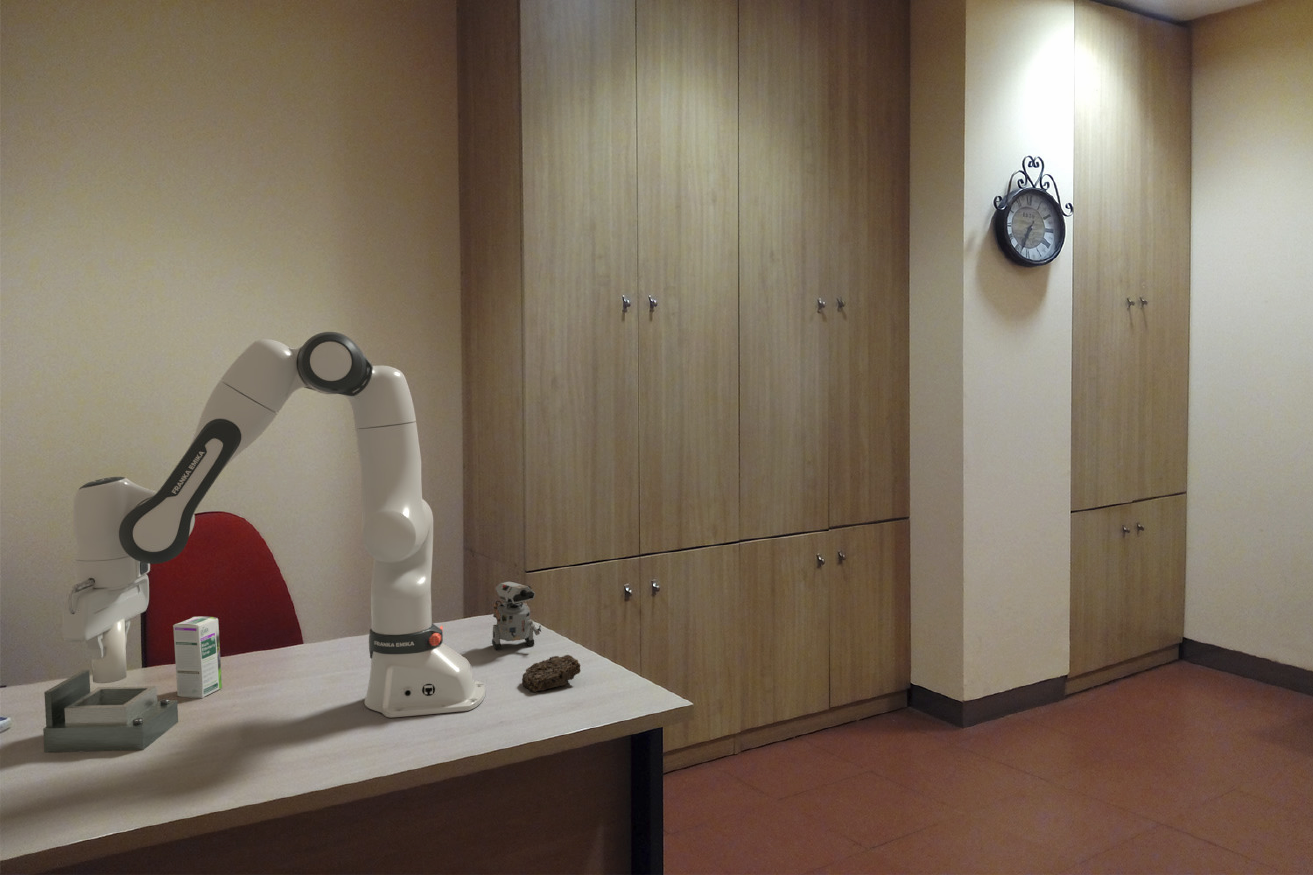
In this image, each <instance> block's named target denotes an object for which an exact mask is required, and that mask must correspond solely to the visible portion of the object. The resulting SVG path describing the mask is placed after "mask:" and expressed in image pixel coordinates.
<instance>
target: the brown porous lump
mask: <svg viewBox="0 0 1313 875" xmlns="http://www.w3.org/2000/svg"><path fill="white" fill-rule="evenodd" d="M580 673H581V664H580V663H579V660H578V659H576V658H574V657H573V655H570V654H565V655H563V656H559V655H554V656H550V657H549V658H547V659H546V660H545V659H544V660H541V661H539V662H534V663H533V664H532V665H530V666H529V667H527V668H526V669H525V672H524V673H523V674H522V678H521V684H522V686H523V687H524V688H526V689H528V690H529V691H530V692H538V691H545V690H548V689H553V688H557V687H560V686H565V685H566V684H567V683H568V682H569V681H572V680H573V679H575V677H576V675H579V674H580Z"/></svg>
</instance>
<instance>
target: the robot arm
mask: <svg viewBox="0 0 1313 875" xmlns="http://www.w3.org/2000/svg"><path fill="white" fill-rule="evenodd" d="M303 388H304V389H309V390H312V391H315V392H317V393H321V394H325V395H341V396H342V395H343V396H344V397H346V398H347V400H348V402H349V403H350V405H351V408H352V413H353V419H354V420H353V421H354V428H355V436H356V444H357V451H358V458H359V466H360V467H359V469H360V504H361V505H360V506H361V525H362V526H361V527H362V529H361V530H362V531H361V538H362V539H361V540H362V544H363V547H364V549H365V550H366V552H367V553H368V554H369V555H370V556H371V557H372V558H373V567H372V568H373V569H372V577H371V584H370V612H371V613H370V614H371V615H370V616H371V617H370V618H371V628H370V629H369V631H368V632H369V635H368V653H369V659H370V660H371V661H370V672H369V679H368V686H367V691H366V696H365V699H364V702H363V703H364V705H365V707H366V708H368V709H370V710H372V711H375V712H379V713H382V715H383V716H385V717H387V718H400V717H401V718H402V717H412V716H425V715H433V714H435V715H436V714H444V713H445V714H446V713H455V712H456V713H457V712H467V711H471V710H473V709H475V708H476V707H478V706H479V705H480V704H481V703H483V701H484V699H485V696H486V692H487V691H486V685H485V684H484V683H483V682H481V681H479V680H474V673H473V669H472V665H471V664H470V662H469V660H468V659H467V658H466V657H464V656H462V655H461V654H459V653H458V652H456V651H455V650H454V649H453V648H451V647H449V646H448V645H446V644H444V643H443V640H444V639H443V638H444V637H443V636H444V635H443V632H444V627H443V625H441V626H440V627H438V626H437V625H435V624H434V623H433V622H432V621H433V620H432V569H433V553H434V552H433V549H434V514H433V511H432V509H431V506H430V505H429V503H427V501H426V500H424V498H423V492H422V491H423V490H422V489H423V488H422V484H423V483H422V456H421V448H420V447H421V446H420V441H419V433H418V425H417V418H416V417H417V416H416V411H415V406H414V402H413V398H412V394H411V391H410V386H409V385H408V382H407V379H406V376H405V375H404V373H403V371H401V370H400V369H397V368H395V367H392V366H389V365H383V364H382V365H381V364H380V365H373V364H372V362H370V360H369V359H368V358H367V357H366V354H364V353H363V351H362V350H361V349H360V346H358V345H357V343H356V342H355V341H353V340H352V339H351V338H350V337H349V336H346V335H345V334H343V333H341V332H340V333H339V332H336V331H335V332H334V331H323V332H319V333H317V334H314V335H313V336H311V337H309V338H308V339H307V340H306V341H305V342H304V343H303V345H302V346H300V347H290V346H288V345H287V344H284V343H283V342H281V341H279V340H275V339H270V338H262V339H261V338H260V339H257V340H255V341H254V342H252V343H251V344H250V345H249V346H248V347H247V348H246V349H244V351H242V353H241V354H240V355H239V356H237V358H236V359H235V361H233V363H232V364H230V366H229V367H228V369H227V370H226V371H225V373H224V374H223V375H222V376H221V378H220V379H219V381H218V383H217V384H216V385H215V387H214V389H212V392H211V394H210V396H209V397H208V399H207V400H206V403H205V406H204V408H203V411H202V412H201V415H200V418H199V421H198V424H197V425H196V426H197V427H196V429H195V433H194V434H193V435H194V436H193V438H192V440H191V442H190V444H189V446H188V448H187V449H186V452H185V453H184V455H183V456H182V457H181V459H180V460H179V461H178V463H177V464H176V465H175V468H174V469H173V471H172V472H171V473H170V475H169V476H167V479H166V480H165V482H164V483H163V484H162V486H161V487H160V488H159V490H158V491H157V490H153V489H150V488H147V487H144V486H142V485H139V484H137V483H135V482H133V481H131V480H130V479H128V478H127V477H125V476H112V477H105V478H101V479H95V480H93V481H89V482H87V483H85V484H83V485H82V486H80V487H79V488H78V490H77V491H76V492H75V495H74V498H73V500H74V501H73V508H72V509H73V510H72V512H73V513H72V528H73V529H72V531H73V536H74V538H75V541H76V550H75V553H74V575H75V578H74V579H75V584H74V585H73V586H72V587H71V588H72V589H71V591H70V593H68V595H67V597H66V598H65V599H64V603H63V609H62V621H61V622H62V626H61V627H62V628H61V632H62V635H61V636H62V637H63V639H64V641H65V642H71V643H73V642H74V643H75V642H76V643H78V642H80V643H81V642H85V643H86V645H87V647H88V649H89V651H90V659H91V660H92V659H101V658H103V657H105V656H106V646H103V645H102V642H101V639H102V638H103V634H102V633H103V632H105V631H107V630H109V629H111V628H112V627H113V624H114V623H116V622H118V621H120V620H122V619H125V644H126V645H127V642H128V639H127V635H128V632H129V629H130V627H131V619H132V618H135V617H137V616H138V615H140V614H142V613H144V612H146V611H147V608H148V606H149V603H150V602H149V601H150V586H149V585H150V581H149V576H148V574H149V572H150V571H151V565H155V564H156V565H157V564H158V565H159V564H162V563H163V564H164V563H167V562H169V561H171V560H173V559H175V558H176V557H177V556H179V555H180V554H181V553H182V552H183V550H184V549H185V548H186V545H187V544H188V541H189V538H190V535H191V533H192V532H193V529H194V527H195V524H196V523H195V522H196V515H195V512H196V511H197V508H198V506H199V505H200V504H201V502H202V501H203V499H204V498H205V496H206V495H207V493H208V492H209V490H210V488H211V487H212V486H213V485H214V483H215V482H216V480H217V479H218V477H219V476H220V474H221V473H222V472H223V471H224V469H225V468H226V467H227V466H228V465H229V464H230V463H231V462H232V461H233V460H234V459H235V458H236V457H237V456H239V455H240V454H241V453H242V452H243V451H245V450H246V449H247V448H248V447H250V446H251V445H252V444H253V443H254V442H255V441H256V440H257V439H258V438H259V437H260V436H261V435H262V434H263V433H264V432H265V431H266V430H267V428H268V427H269V426H270V425H271V424H272V422H273V421H274V420H275V418H276V417H277V416H278V414H279V413H280V411H281V409H282V408H283V406H284V405H285V403H286V402H288V401H287V400H288V399H289V398H290V397H291V396H292V394H294V393H295V392H297V391H298V390H300V389H303Z"/></svg>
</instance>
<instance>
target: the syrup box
mask: <svg viewBox="0 0 1313 875" xmlns="http://www.w3.org/2000/svg"><path fill="white" fill-rule="evenodd" d="M172 628H173V640H174V659H175V660H174V661H175V675H176V691H177V696H178V697H181V698H190V699H205V697H206V696H208V695H210V694H213V693H214V692H216V691H218V690H221V689H222V688H223V682H222V666H221V665H222V663H221V648H220V645H221V644H220V630H219V629H220V628H219V619H218V617H214V616H192V617H191V618H189V619H186V620H183V621H181V622H178V623H175V624H173V625H172Z"/></svg>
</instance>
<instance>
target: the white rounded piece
mask: <svg viewBox="0 0 1313 875" xmlns="http://www.w3.org/2000/svg"><path fill="white" fill-rule="evenodd" d="M102 634H103V638H102V639H101V642H102V645H103V646H106V656H105V657H103V658H101V659H91V668H92V672H91V673H92V674H91V675H92V682H93V683H94V684H109V683H111V684H112V683H115V682H119V681H121V680H124V679H126V678H127V676H128V674H127V670H128V669H127V652H126V650H127V647H126V645H127V644H125V619H122V620H120V621H118V622H116V623H114V624H113V627H112V628H111V629H109V630H107V631H105V632H103V633H102Z"/></svg>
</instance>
